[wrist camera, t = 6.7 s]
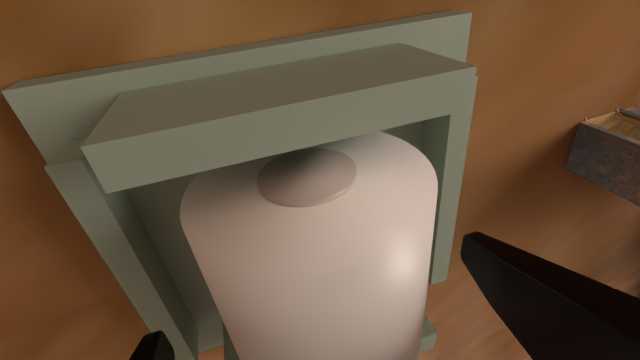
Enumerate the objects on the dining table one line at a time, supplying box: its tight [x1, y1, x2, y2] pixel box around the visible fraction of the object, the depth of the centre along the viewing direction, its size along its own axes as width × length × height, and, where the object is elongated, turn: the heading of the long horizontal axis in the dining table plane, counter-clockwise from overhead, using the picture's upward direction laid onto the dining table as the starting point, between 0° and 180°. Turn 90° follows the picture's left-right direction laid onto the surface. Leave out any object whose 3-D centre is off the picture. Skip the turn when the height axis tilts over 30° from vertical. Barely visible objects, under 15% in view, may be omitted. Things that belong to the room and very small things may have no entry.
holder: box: [1, 10, 478, 360], centre depth 11 cm, size 12×13×4 cm
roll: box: [180, 131, 438, 360], centre depth 10 cm, size 7×6×6 cm
